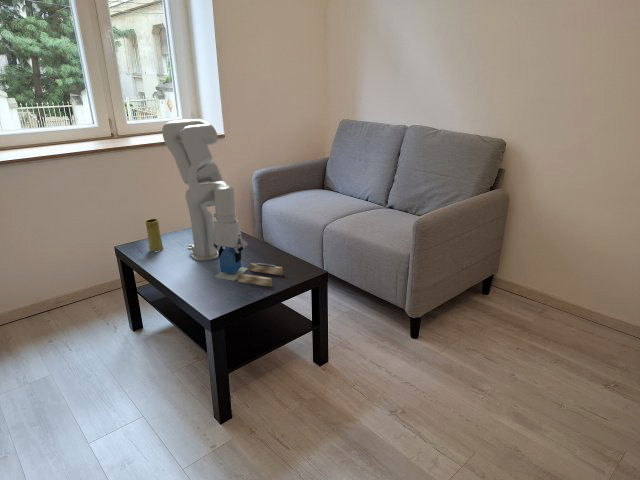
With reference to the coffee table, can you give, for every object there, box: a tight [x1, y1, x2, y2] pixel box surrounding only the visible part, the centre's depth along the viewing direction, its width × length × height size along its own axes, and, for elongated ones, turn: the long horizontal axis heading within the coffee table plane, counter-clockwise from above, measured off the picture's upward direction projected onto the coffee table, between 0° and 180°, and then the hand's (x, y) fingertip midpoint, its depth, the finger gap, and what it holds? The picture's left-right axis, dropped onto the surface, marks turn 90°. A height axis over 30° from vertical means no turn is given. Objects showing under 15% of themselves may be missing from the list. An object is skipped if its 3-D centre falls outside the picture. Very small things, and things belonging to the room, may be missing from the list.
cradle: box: [237, 262, 284, 287], centre depth 174 cm, size 14×11×4 cm
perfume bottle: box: [218, 247, 242, 273], centre depth 176 cm, size 6×6×12 cm
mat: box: [214, 266, 249, 282], centre depth 179 cm, size 9×11×1 cm
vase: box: [145, 218, 164, 252], centre depth 201 cm, size 6×6×14 cm
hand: (230, 259), depth 177 cm, fingers closed on perfume bottle, 6 cm apart
